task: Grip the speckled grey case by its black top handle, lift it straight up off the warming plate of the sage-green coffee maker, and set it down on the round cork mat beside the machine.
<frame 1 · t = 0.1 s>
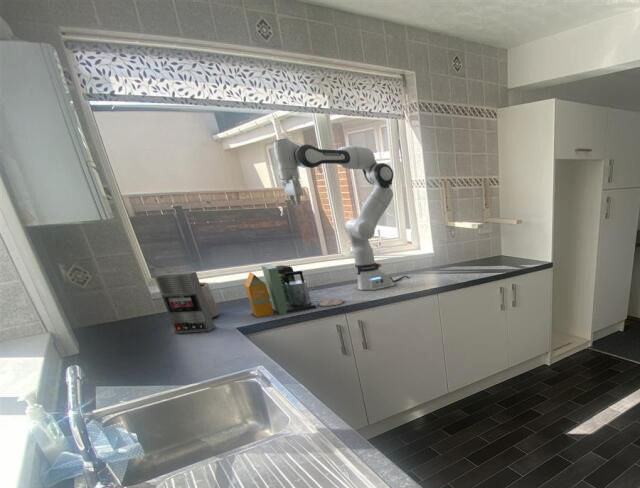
hand: (296, 205, 219), 48 cm above the countertop, tool pointing down, fingers open, 8 cm apart
coffee maker: (295, 308, 218), on the countertop
cassette tape recorder: (196, 331, 187), on the countertop
orange juice: (263, 314, 209), on the countertop
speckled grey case: (300, 303, 219), point 2 cm above the countertop, touching coffee maker
coffee jar: (291, 300, 234), on the countertop
cork mat: (331, 303, 224), on the countertop
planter: (198, 319, 205), on the countertop
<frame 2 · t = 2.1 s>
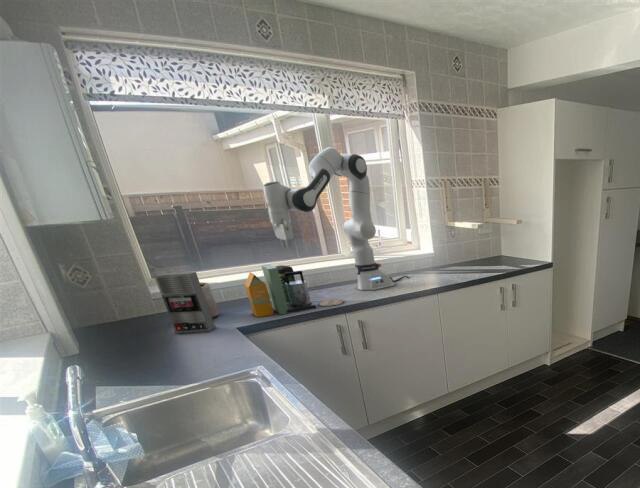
hand: (287, 249, 207), 29 cm above the countertop, tool pointing down, fingers open, 8 cm apart
nothing on the countertop moved.
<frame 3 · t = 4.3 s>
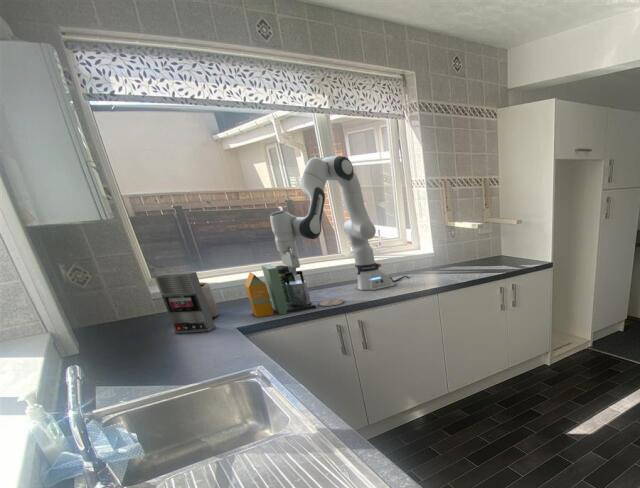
hand: (293, 275, 212), 16 cm above the countertop, tool pointing down, fingers closed on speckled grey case
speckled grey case: (300, 303, 219), point 2 cm above the countertop, touching coffee maker, gripper
everything else where it was.
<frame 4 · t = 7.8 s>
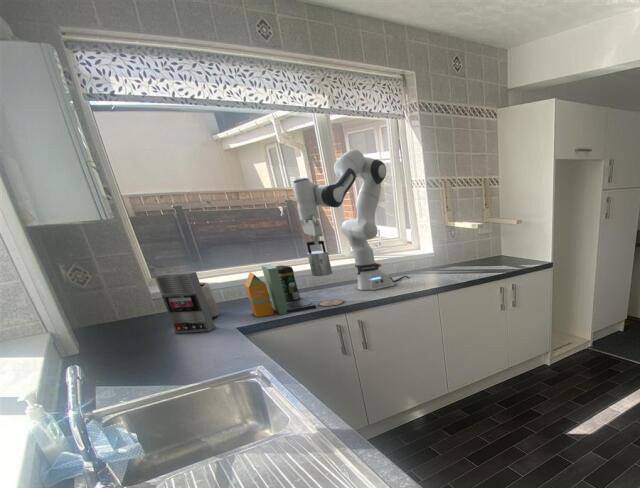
hand: (315, 244, 211), 30 cm above the countertop, tool pointing down, fingers closed on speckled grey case
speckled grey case: (322, 274, 217), point 15 cm above the countertop, touching gripper
everything else where it was.
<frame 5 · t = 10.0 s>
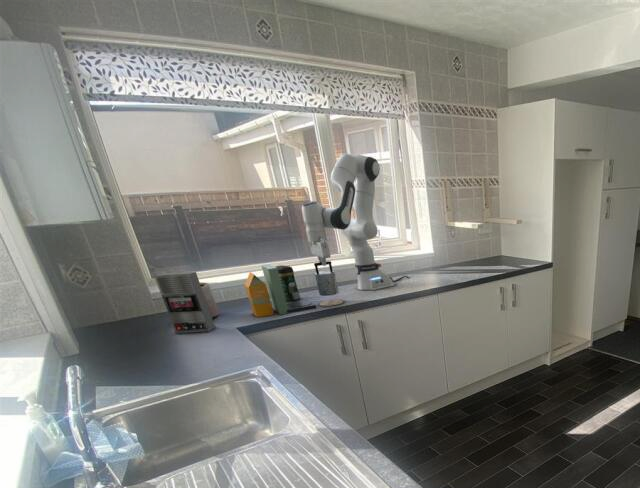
hand: (323, 265, 216), 20 cm above the countertop, tool pointing down, fingers closed on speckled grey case
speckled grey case: (329, 293, 222), point 5 cm above the countertop, touching gripper
everything else where it was.
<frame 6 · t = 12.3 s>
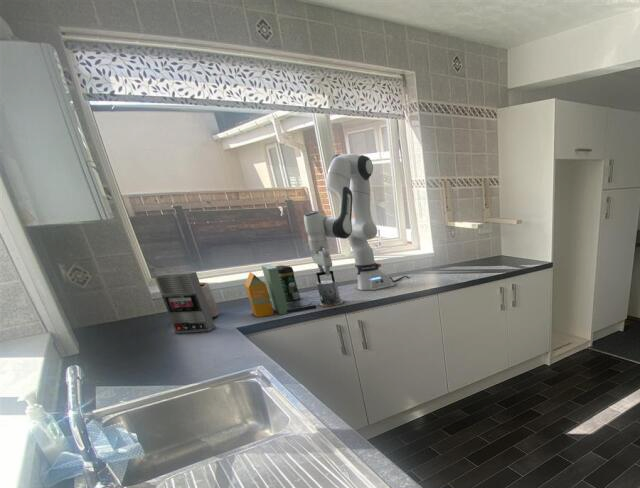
hand: (325, 274, 218), 15 cm above the countertop, tool pointing down, fingers open, 8 cm apart
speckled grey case: (331, 302, 224), resting on cork mat
everything else where it was.
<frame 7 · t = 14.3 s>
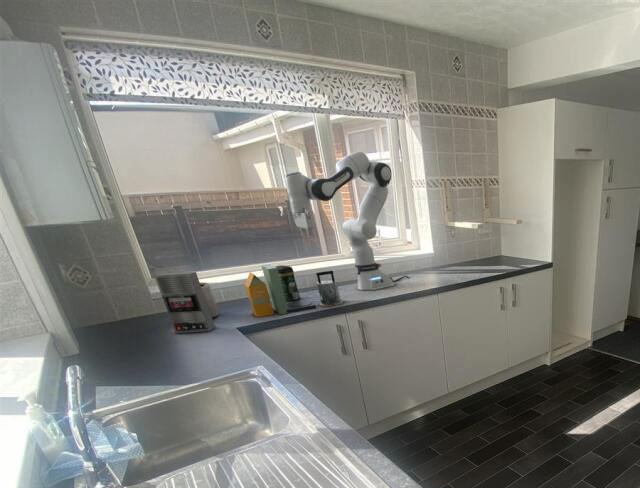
hand: (307, 237, 217), 33 cm above the countertop, tool pointing down, fingers open, 8 cm apart
nothing on the countertop moved.
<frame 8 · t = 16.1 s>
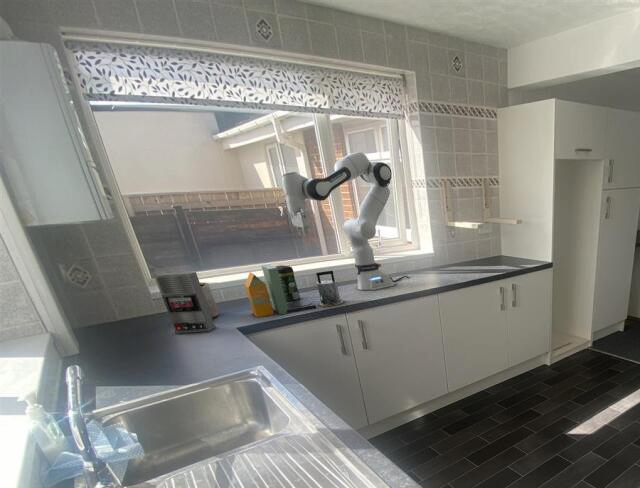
hand: (304, 236, 220), 33 cm above the countertop, tool pointing down, fingers open, 8 cm apart
nothing on the countertop moved.
at the end: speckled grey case inside the target area (0.1 cm from its centre), resting on cork mat; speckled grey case tilted 0°; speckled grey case touching cork mat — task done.
